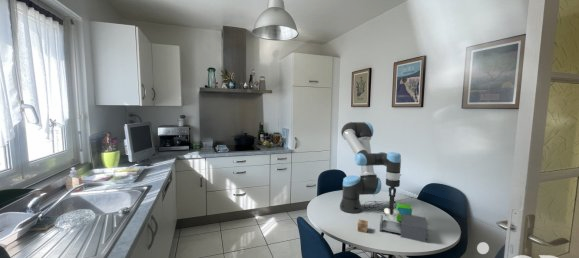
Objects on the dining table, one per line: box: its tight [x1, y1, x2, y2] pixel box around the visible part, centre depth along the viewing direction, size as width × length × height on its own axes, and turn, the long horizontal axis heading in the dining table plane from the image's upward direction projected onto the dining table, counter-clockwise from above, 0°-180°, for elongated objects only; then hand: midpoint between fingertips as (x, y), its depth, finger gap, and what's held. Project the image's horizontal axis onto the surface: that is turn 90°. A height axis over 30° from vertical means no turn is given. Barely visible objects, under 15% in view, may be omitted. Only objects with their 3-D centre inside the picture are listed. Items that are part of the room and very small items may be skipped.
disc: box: [383, 207, 399, 217], centre depth 139 cm, size 8×8×2 cm
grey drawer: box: [379, 215, 401, 235], centre depth 140 cm, size 13×12×5 cm
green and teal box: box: [394, 203, 413, 222], centre depth 154 cm, size 10×13×10 cm
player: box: [400, 213, 429, 244], centre depth 135 cm, size 13×14×8 cm
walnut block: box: [357, 219, 369, 234], centre depth 139 cm, size 5×5×5 cm
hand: (391, 216), depth 139 cm, fingers closed on disc, 8 cm apart
